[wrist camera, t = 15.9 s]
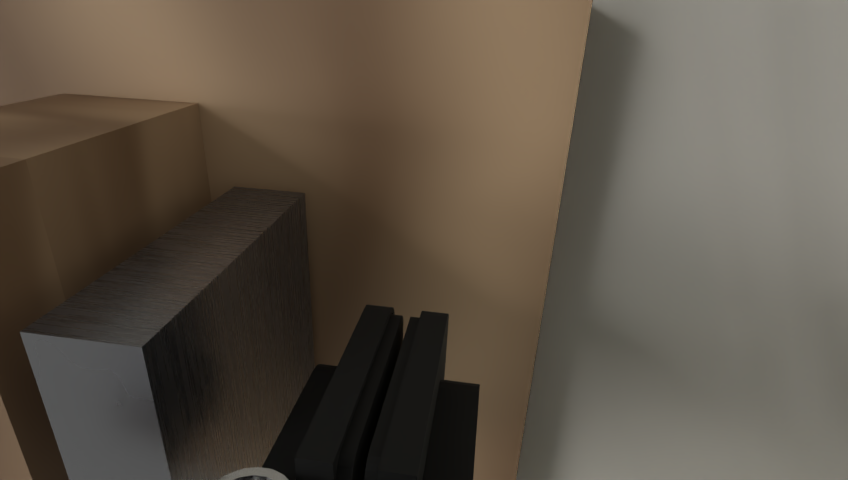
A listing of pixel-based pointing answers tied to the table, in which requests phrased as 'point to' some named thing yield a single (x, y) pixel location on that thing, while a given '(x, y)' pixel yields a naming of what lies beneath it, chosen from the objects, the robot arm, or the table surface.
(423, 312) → the robot arm
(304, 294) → the grey rectangular box
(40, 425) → the jig
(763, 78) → the table surface
